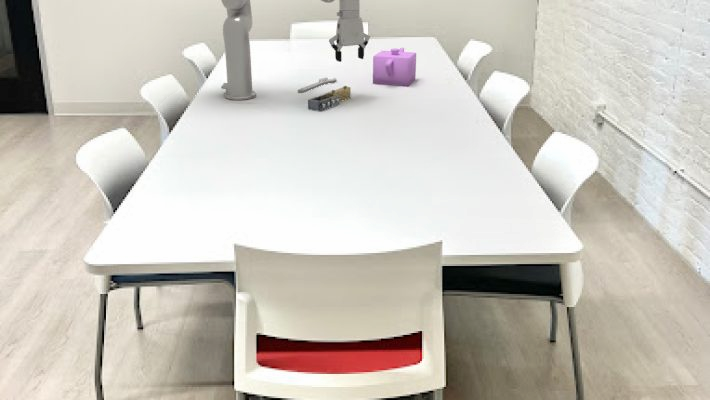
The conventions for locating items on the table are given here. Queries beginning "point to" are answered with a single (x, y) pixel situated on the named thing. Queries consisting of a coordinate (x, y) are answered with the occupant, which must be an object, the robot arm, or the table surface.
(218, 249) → the table surface
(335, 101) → the chain end grey
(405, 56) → the teapot
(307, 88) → the adjustable wrench
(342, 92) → the master link
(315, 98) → the chain end dark
